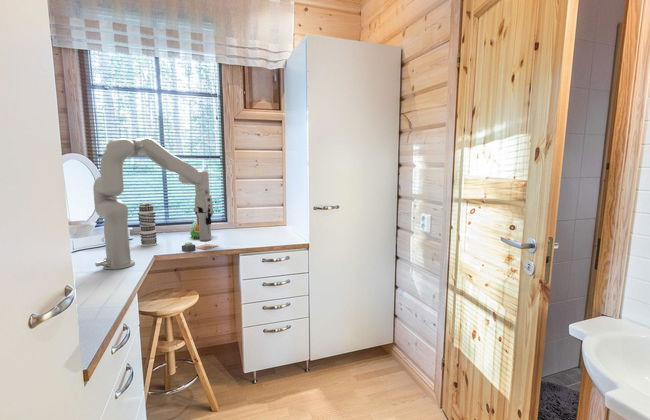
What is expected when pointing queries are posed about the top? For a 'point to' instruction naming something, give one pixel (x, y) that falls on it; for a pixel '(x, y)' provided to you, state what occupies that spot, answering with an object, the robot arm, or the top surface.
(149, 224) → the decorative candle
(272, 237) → the top surface
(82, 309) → the top surface
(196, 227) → the turtle holder
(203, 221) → the travel mug
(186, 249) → the button base
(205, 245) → the picture square
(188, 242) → the button
